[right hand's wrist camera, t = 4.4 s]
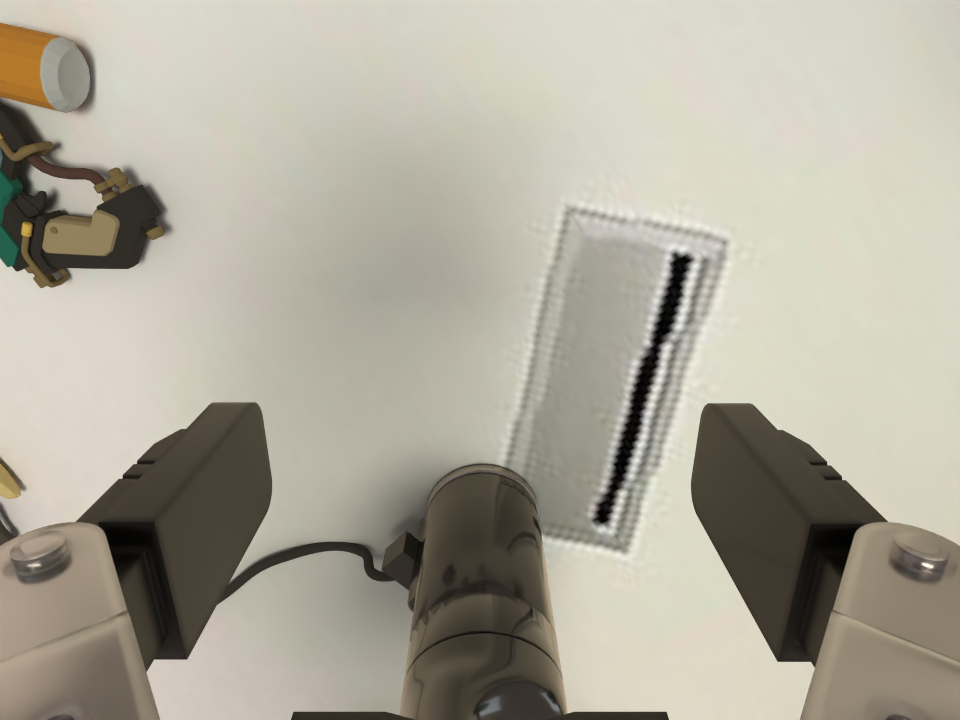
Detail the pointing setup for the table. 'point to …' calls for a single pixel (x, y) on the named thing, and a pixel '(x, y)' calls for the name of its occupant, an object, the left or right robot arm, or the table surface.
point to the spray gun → (59, 171)
